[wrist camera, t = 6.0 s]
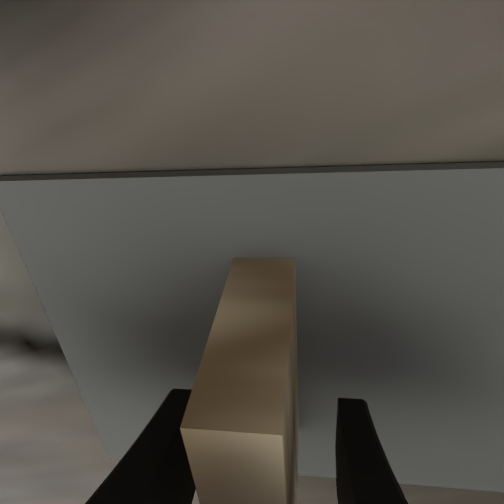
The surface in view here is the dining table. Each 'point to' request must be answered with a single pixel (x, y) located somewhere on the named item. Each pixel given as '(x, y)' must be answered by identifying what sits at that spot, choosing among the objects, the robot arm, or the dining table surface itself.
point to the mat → (307, 297)
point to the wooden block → (248, 391)
